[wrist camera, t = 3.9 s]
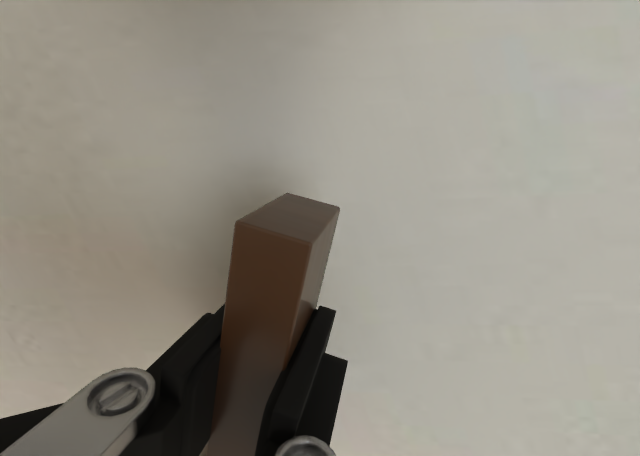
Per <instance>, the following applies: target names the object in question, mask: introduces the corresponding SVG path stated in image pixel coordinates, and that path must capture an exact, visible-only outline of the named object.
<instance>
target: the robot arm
mask: <svg viewBox="0 0 640 456" xmlns="http://www.w3.org/2000/svg"><path fill="white" fill-rule="evenodd" d="M224 309H225V304H224V305H223V306H222V307H221V308H220V309H219V310H218V311H217V312H216V313H215V314H211V313H206V314H205V315H204V316H202V317H201V318H200V319H199V320H198V321H197V322H196V323H195V324H194V325H193V326H192V327H191V328H190V329H189V330H188V331H187V332H186V333H185V334H184V335H182V336H181V337H180V338H179V339H178V340H177V341H176V342H175V343H174V344H173V345H172V346H171V347H170V348H169V349H168V350H167V351H166V352H165V353H164V354H163V355H162V356H161V357H159V358H158V359H157V360H156V361H155V362H154V363H153V364H152V365H151V366H150V367H149V368H148V369H147V370H146V371H145V370H142V369H138V368H121V369H116V370H112V371H110V372H107V373H105V374H102V375H101V376H99V377H98V378H96V379H95V380H93V381H92V382H90V383H89V384H88V385H87V386H85V387H84V388H83V389H81V390H80V391H79V392H78V393H76V394H75V395H74V396H73V397H71V398H70V399H69V400H68V401H66V402H65V403H62V404H58V405H54V406H50V407H46V408H42V409H38V410H34V411H30V412H26V413H22V414H18V415H14V416H10V417H6V418H2V419H0V456H199V455H200V454H201V452H202V450H203V449H204V447H205V445H206V444H207V442H208V441H209V439H210V434H211V426H212V418H213V410H214V402H215V394H216V386H217V378H218V370H219V362H220V355H221V348H220V341H221V333H222V325H223V317H224ZM335 314H336V311H335V310H332V309H329V308H326V307H323V306H319V308H318V310H317V309H314V311H313V313H312V315H311V317H310V319H309V321H308V323H307V325H306V327H305V330H304V332H303V334H302V336H301V338H300V340H299V342H298V344H297V346H296V348H295V350H294V352H293V355H292V357H291V359H290V361H289V363H288V365H287V367H286V369H285V370H284V371H281V373H280V375H279V377H278V379H277V381H276V383H275V385H274V387H273V390H272V392H271V394H270V396H269V398H268V401H267V403H266V406H265V409H264V413H263V417H262V421H261V426H260V431H259V436H258V441H257V446H256V451H255V456H336V454H335V453H334V451H333V450H332V449H331V448H330V447H329V445H330V441H331V436H332V432H333V427H334V423H335V418H336V413H337V409H338V404H339V400H340V395H341V390H342V386H343V381H344V377H345V372H346V367H347V362H348V361H347V360H344V359H341V358H338V357H335V356H332V355H329V354H326V353H325V351H326V347H327V343H328V340H329V336H330V332H331V328H332V325H333V321H334V317H335Z"/></svg>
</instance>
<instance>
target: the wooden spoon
mask: <svg viewBox="0 0 640 456" xmlns="http://www.w3.org/2000/svg"><path fill="white" fill-rule="evenodd" d="M339 212H340V208H339V207H337V206H334V205H330V204H327V203H323V202H319V201H316V200H312V199H308V198H305V197H301V196H297V195H294V194H290V193H286V194H284V195H282V196H280V197H278V198H277V199H275V200H273V201H271V202H269V203H268V204H266V205H264V206H262V207H261V208H259V209H257V210H255V211H253V212H252V213H250V214H248V215H246V216H244V217H243V218H241V219H239V220H237V221H236V223H235V229H234V237H233V245H232V253H231V261H230V269H229V277H228V285H227V293H226V301H225V309H224V317H223V325H222V333H221V341H220V348H221V355H220V362H219V370H218V378H217V386H216V394H215V402H214V410H213V418H212V426H211V434H210V439H209V441H208V442H207V444H206V445H205V447H204V449H203V450H202V452H201V454H200V455H199V456H255V451H256V446H257V441H258V436H259V431H260V426H261V421H262V417H263V413H264V409H265V406H266V403H267V401H268V398H269V396H270V394H271V392H272V390H273V387H274V385H275V383H276V381H277V379H278V377H279V375H280V373H281V371H284V370H285V369H286V367H287V365H288V363H289V361H290V359H291V357H292V355H293V352H294V350H295V348H296V346H297V344H298V342H299V340H300V338H301V336H302V334H303V332H304V330H305V327H306V325H307V323H308V321H309V319H310V317H311V315H312V313H313V311H314V309H316V306H317V302H318V298H319V294H320V289H321V285H322V281H323V277H324V273H325V269H326V265H327V261H328V257H329V253H330V249H331V245H332V240H333V236H334V232H335V228H336V224H337V220H338V216H339Z"/></svg>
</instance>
